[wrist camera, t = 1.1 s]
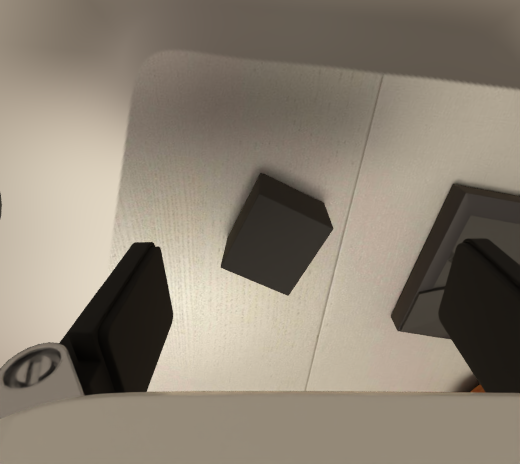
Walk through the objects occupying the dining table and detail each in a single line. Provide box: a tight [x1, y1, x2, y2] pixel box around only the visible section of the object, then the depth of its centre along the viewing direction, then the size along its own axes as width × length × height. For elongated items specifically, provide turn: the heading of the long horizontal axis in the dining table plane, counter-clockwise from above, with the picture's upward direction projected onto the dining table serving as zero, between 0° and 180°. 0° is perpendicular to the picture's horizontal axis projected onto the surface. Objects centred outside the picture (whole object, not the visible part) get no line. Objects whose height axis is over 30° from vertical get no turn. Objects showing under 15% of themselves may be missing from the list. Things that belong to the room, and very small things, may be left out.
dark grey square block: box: [221, 173, 333, 295], centre depth 25 cm, size 6×6×4 cm
